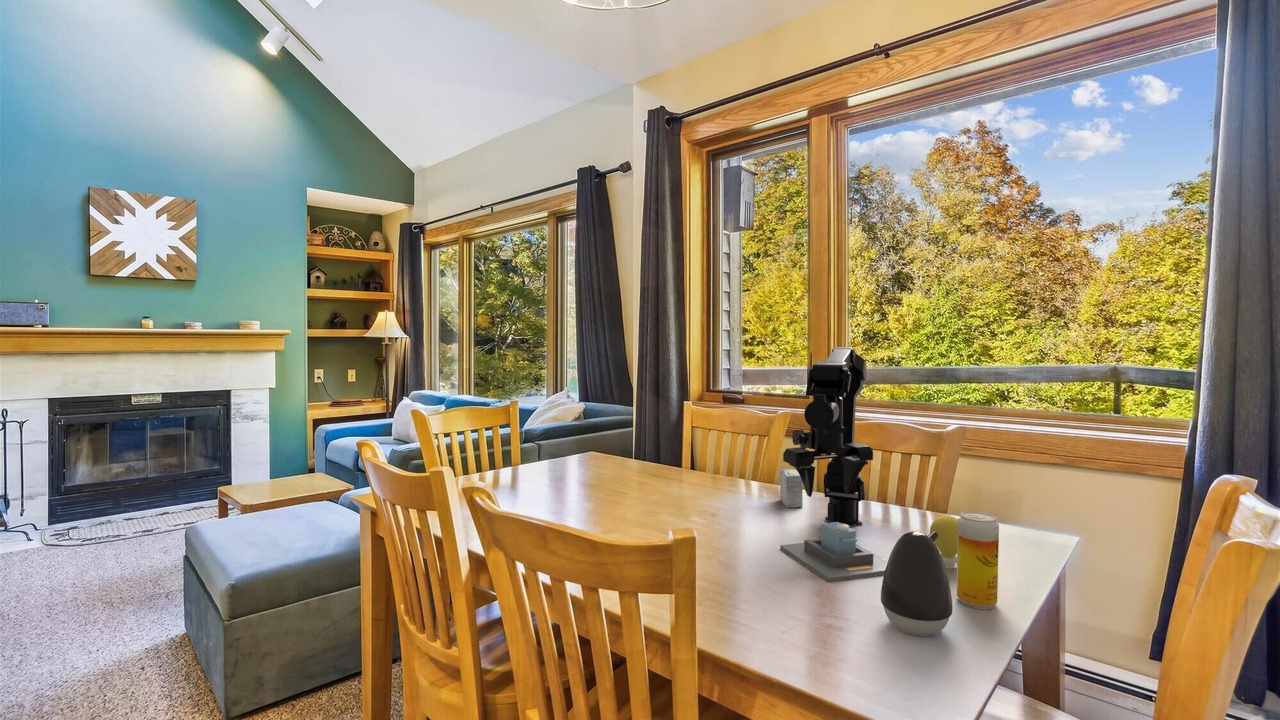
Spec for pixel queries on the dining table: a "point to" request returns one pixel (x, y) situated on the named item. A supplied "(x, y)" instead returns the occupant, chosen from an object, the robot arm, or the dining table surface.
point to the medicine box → (791, 488)
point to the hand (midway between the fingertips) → (828, 494)
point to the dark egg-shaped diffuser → (917, 586)
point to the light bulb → (946, 539)
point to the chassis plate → (836, 561)
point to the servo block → (838, 538)
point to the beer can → (977, 560)
